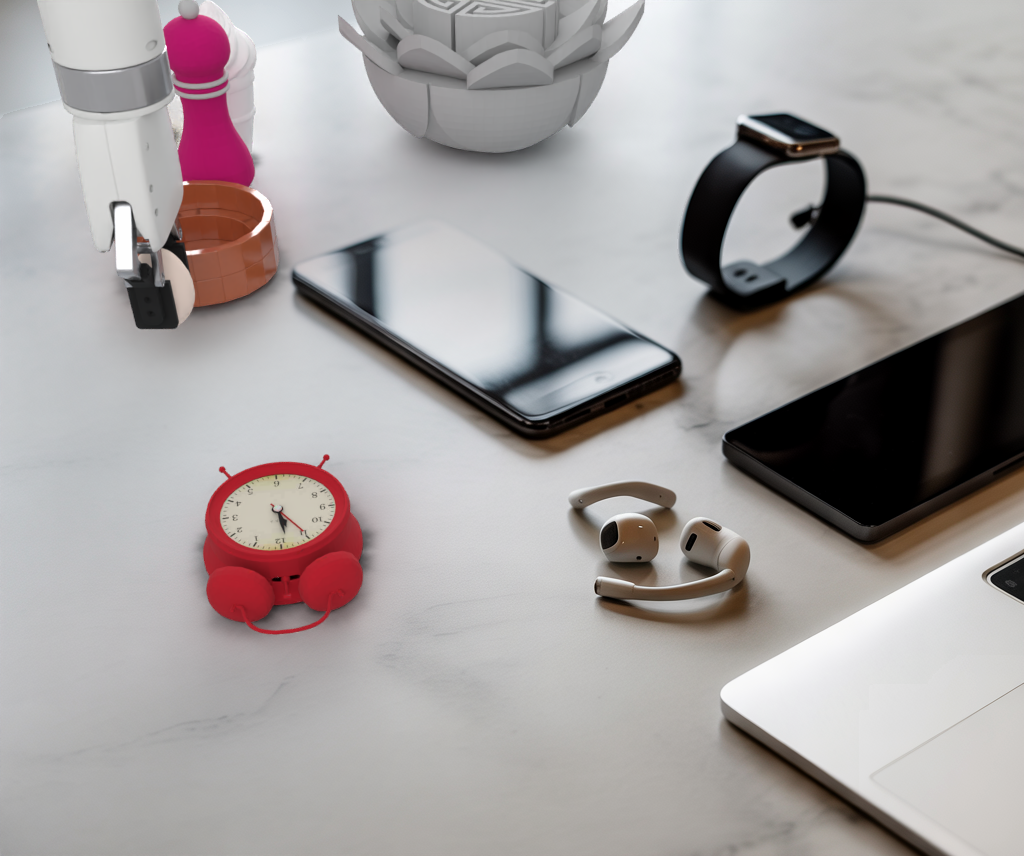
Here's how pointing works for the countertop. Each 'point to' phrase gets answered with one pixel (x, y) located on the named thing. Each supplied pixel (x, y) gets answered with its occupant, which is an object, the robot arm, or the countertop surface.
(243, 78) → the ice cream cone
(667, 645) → the countertop surface
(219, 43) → the pepper mill
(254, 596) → the alarm clock
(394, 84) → the decorative bowl
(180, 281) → the egg
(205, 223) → the bowl
